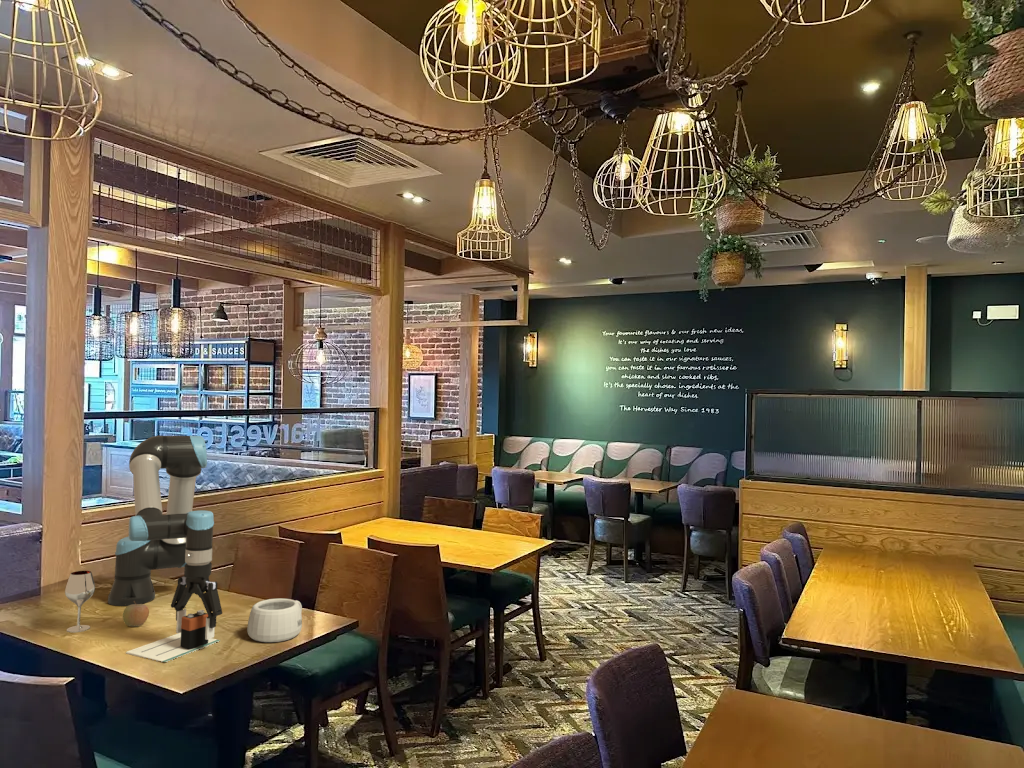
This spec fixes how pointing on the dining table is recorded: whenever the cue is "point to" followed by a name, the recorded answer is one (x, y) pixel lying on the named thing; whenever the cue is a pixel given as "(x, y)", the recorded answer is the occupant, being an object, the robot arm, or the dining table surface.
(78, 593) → the wineglass
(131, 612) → the fruit
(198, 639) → the battery
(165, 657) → the order pad
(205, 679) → the dining table surface
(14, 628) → the dining table surface
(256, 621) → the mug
